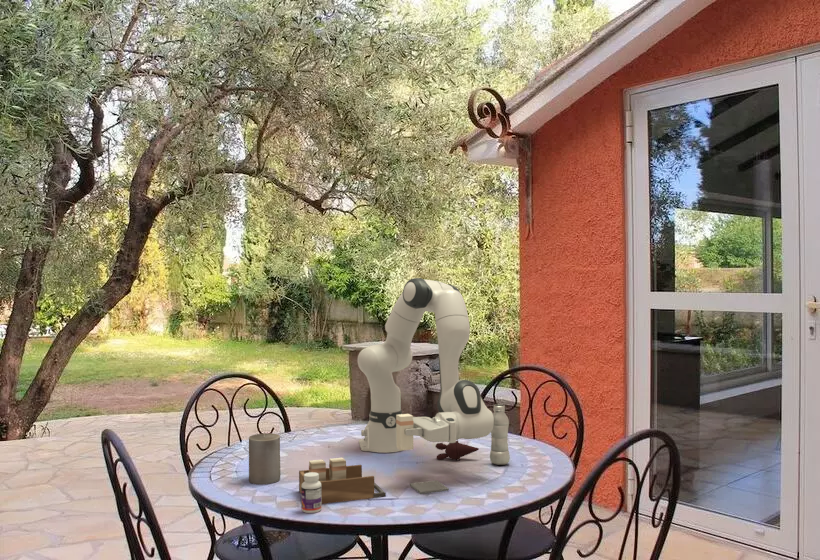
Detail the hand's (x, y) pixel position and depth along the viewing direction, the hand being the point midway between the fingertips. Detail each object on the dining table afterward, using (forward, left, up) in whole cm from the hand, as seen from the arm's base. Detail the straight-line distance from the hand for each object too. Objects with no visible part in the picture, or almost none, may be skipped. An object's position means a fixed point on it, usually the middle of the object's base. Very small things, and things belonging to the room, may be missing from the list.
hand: (402, 430), depth 204 cm
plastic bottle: (-12, +39, -17) cm, 44 cm away
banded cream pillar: (0, +1, -5) cm, 6 cm away
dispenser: (0, -19, -17) cm, 25 cm away
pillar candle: (-22, -38, -17) cm, 47 cm away
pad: (+4, +7, -17) cm, 19 cm away
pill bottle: (+11, -30, -17) cm, 36 cm away
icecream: (-23, +28, -17) cm, 40 cm away
